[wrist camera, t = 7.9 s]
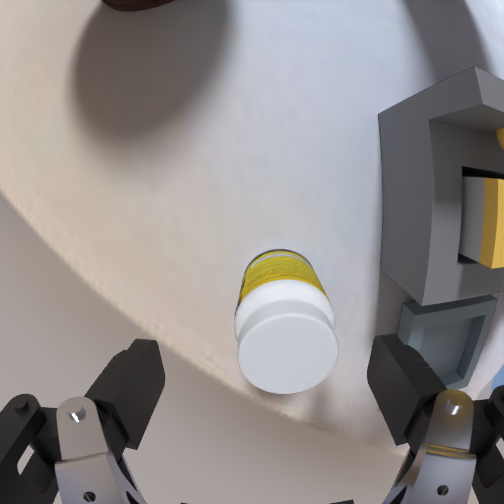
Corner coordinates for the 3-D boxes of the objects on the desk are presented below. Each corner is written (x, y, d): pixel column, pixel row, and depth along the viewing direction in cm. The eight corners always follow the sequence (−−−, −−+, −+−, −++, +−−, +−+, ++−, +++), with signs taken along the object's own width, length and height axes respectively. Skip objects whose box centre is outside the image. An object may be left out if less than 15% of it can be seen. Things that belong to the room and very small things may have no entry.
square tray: (381, 395, 20) (388, 409, 18) (402, 303, 18) (414, 315, 16) (458, 374, 20) (467, 385, 18) (484, 290, 18) (497, 299, 16)
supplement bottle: (233, 258, 18) (208, 322, 10) (304, 236, 17) (337, 286, 9) (256, 322, 19) (249, 410, 11) (322, 303, 18) (355, 383, 10)
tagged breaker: (414, 233, 16) (491, 268, 9) (415, 175, 15) (498, 178, 8) (455, 232, 16) (531, 262, 9) (457, 179, 15) (537, 187, 8)
